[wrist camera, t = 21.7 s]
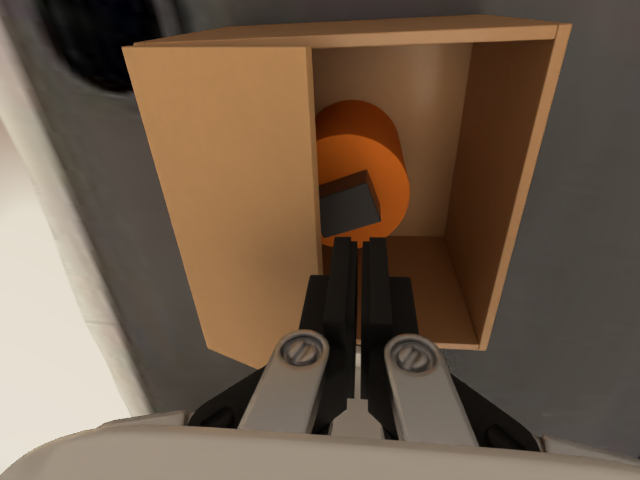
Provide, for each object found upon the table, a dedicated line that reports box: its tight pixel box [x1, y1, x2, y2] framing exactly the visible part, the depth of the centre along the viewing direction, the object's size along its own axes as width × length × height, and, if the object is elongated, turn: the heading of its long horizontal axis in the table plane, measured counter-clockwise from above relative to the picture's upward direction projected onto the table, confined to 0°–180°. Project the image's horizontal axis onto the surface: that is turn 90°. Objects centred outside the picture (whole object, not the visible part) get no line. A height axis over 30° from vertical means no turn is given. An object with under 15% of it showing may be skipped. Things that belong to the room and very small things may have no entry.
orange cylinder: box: [315, 100, 410, 248], centre depth 20 cm, size 6×6×9 cm
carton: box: [134, 14, 572, 351], centre depth 20 cm, size 14×14×10 cm
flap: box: [122, 45, 323, 370], centre depth 14 cm, size 14×7×1 cm, turn 3°
